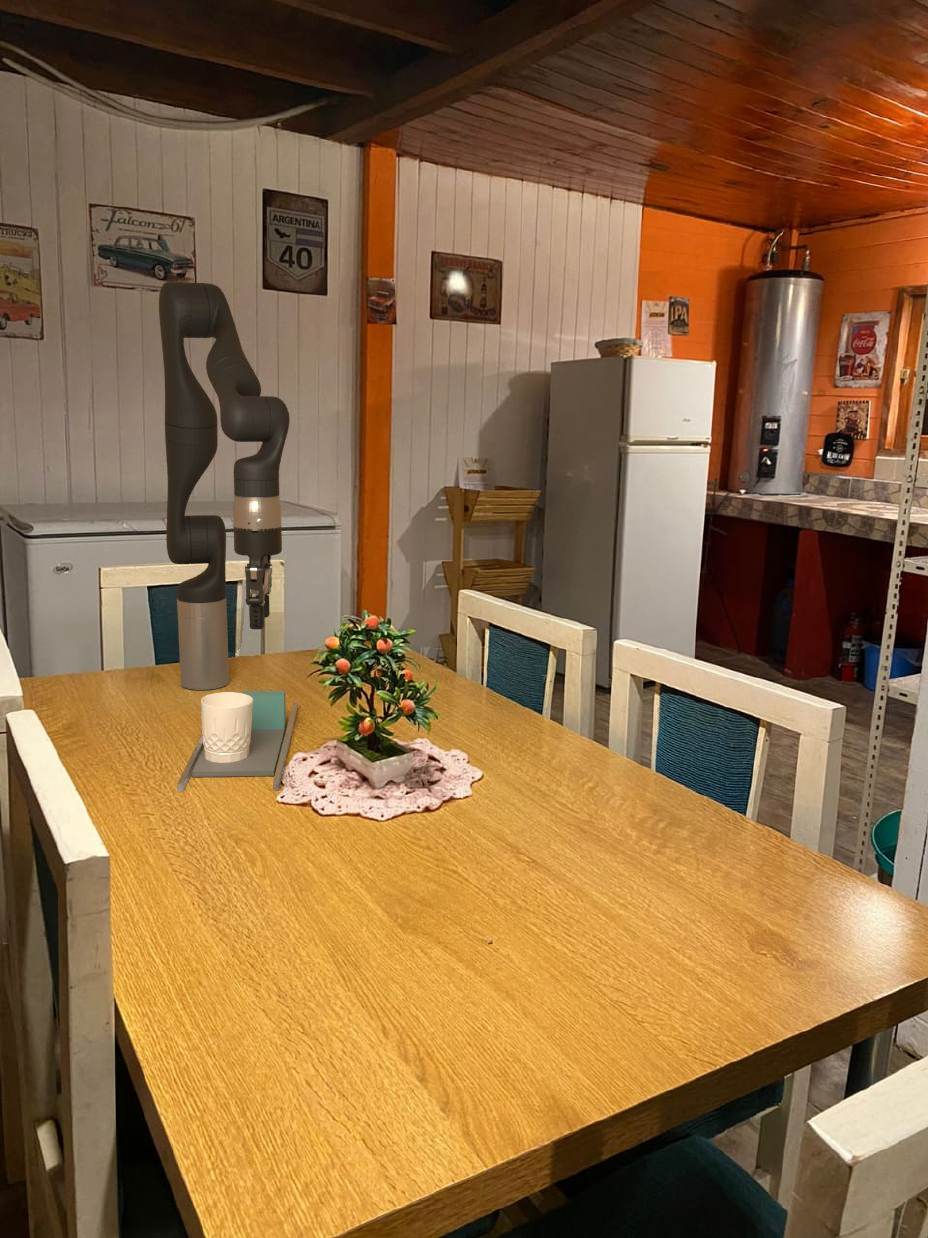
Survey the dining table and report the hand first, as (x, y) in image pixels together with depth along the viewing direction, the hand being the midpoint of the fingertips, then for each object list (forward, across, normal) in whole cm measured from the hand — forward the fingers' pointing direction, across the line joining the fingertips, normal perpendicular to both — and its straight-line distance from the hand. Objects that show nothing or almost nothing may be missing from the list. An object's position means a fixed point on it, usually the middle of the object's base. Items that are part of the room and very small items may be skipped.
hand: (260, 622), depth 160 cm
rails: (+20, +4, -2) cm, 20 cm away
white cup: (+20, +11, -4) cm, 23 cm away
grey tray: (+20, +6, -2) cm, 21 cm away
